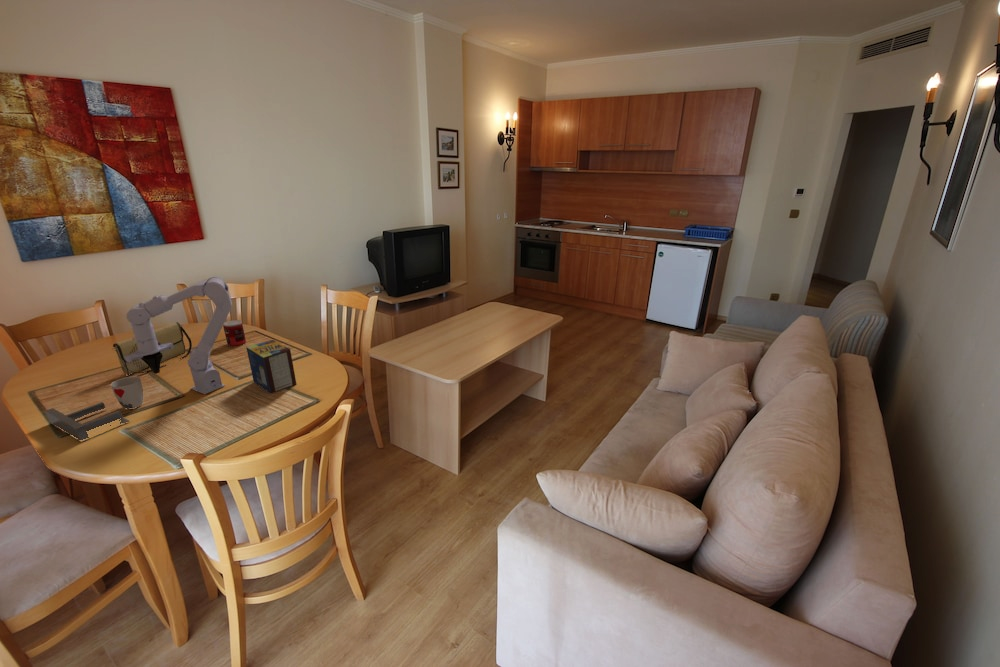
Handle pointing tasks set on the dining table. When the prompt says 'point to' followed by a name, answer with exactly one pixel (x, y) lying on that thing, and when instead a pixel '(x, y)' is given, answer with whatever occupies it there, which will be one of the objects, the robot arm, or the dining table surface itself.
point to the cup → (128, 391)
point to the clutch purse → (163, 337)
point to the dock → (69, 420)
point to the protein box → (271, 365)
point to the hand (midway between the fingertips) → (156, 372)
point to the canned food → (234, 333)
